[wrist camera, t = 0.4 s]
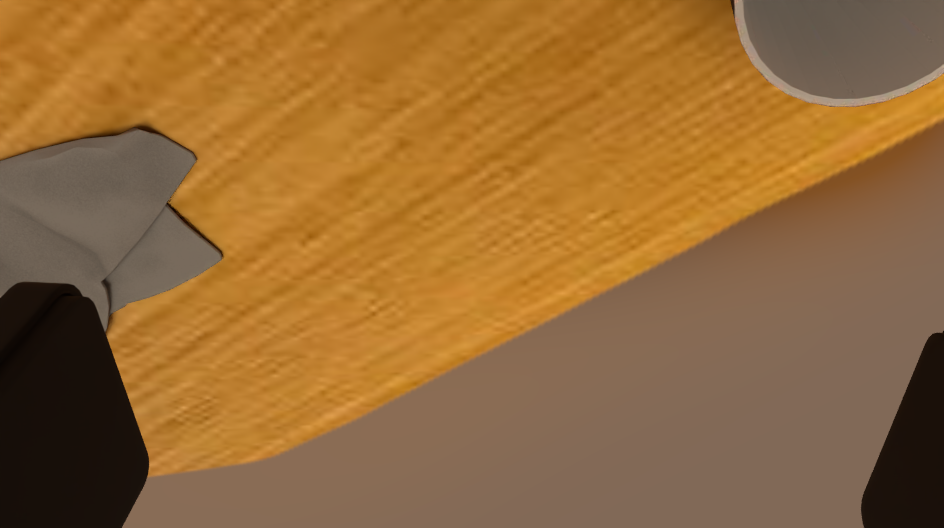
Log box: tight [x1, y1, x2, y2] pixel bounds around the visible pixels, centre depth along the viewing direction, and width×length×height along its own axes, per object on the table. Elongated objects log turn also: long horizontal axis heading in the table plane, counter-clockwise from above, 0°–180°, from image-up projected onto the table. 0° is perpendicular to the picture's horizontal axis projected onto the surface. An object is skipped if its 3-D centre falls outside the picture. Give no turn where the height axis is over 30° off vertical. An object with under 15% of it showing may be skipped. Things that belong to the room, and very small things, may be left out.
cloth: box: [0, 127, 222, 331], centre depth 46 cm, size 26×14×2 cm, turn 132°
